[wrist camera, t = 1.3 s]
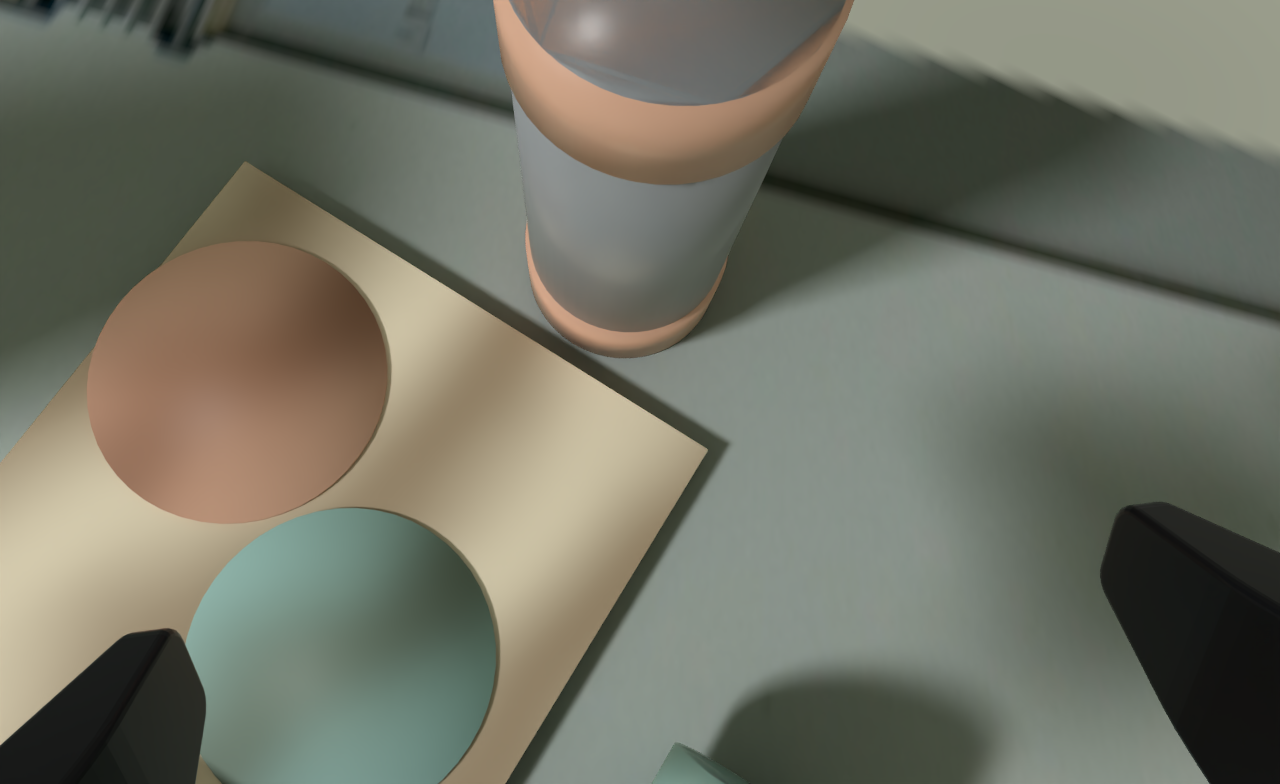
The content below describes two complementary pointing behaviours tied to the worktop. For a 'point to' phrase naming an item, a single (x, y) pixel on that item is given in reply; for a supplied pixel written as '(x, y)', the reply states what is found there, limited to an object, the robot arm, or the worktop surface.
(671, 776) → the tube teal
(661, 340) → the tube terracotta
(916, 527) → the worktop surface
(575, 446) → the board
